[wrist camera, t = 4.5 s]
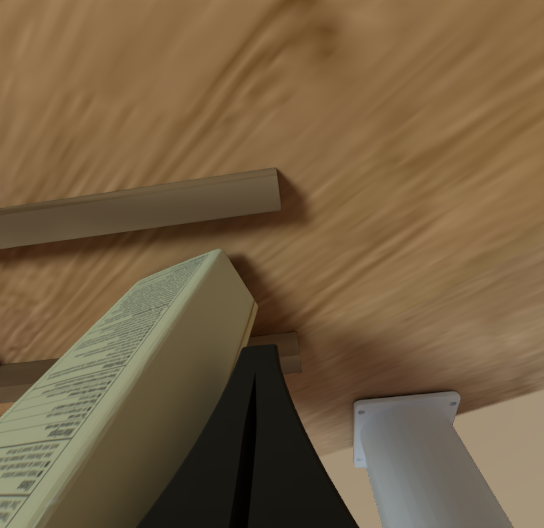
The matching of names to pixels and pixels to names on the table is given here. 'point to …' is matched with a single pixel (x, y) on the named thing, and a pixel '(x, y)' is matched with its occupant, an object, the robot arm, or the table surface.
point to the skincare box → (125, 401)
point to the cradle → (135, 216)
